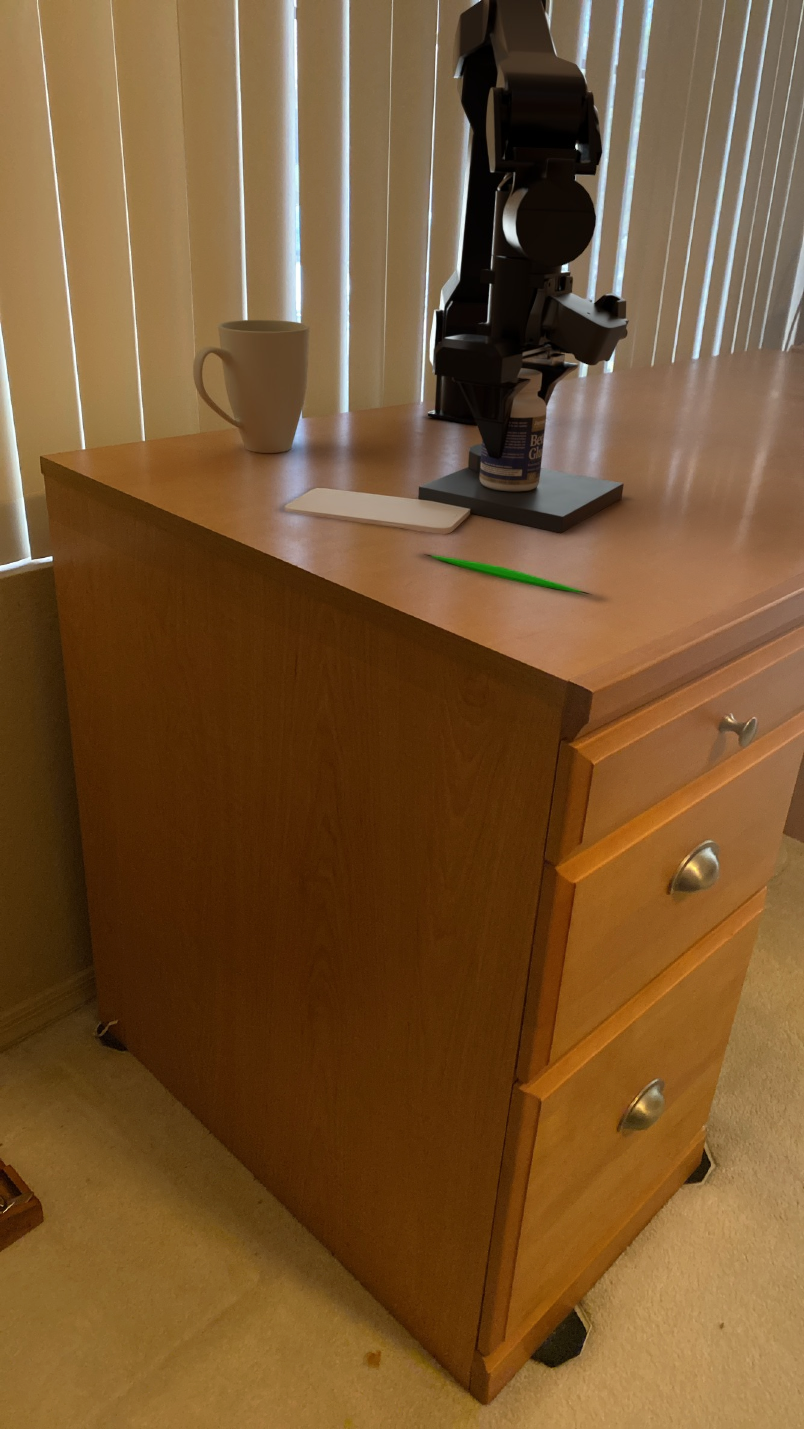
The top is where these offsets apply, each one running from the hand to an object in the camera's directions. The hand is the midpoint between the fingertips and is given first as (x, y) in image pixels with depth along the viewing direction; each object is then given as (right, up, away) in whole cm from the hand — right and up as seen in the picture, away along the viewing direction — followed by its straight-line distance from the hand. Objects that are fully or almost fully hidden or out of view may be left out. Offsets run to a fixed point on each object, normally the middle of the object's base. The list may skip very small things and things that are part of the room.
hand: (510, 451), depth 86 cm
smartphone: (-12, -6, -2) cm, 13 cm away
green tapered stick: (-2, -13, -15) cm, 20 cm away
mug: (-24, +4, +16) cm, 29 cm away
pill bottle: (0, -3, +2) cm, 3 cm away
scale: (+1, -4, +2) cm, 5 cm away
